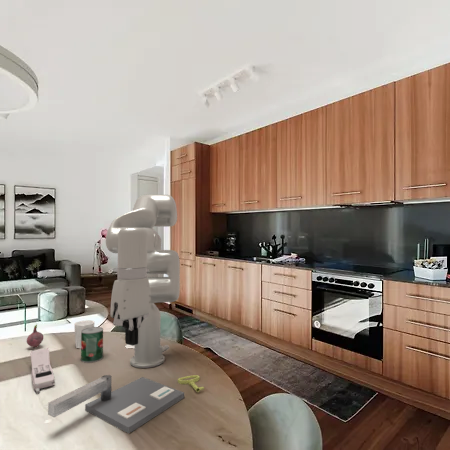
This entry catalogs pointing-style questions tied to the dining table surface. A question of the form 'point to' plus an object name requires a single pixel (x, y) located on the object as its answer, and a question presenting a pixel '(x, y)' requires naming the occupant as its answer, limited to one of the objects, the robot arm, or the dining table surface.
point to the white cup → (79, 327)
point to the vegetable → (35, 338)
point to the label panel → (135, 404)
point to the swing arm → (81, 395)
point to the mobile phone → (41, 369)
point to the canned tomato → (91, 344)
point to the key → (191, 382)
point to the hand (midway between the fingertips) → (131, 343)
